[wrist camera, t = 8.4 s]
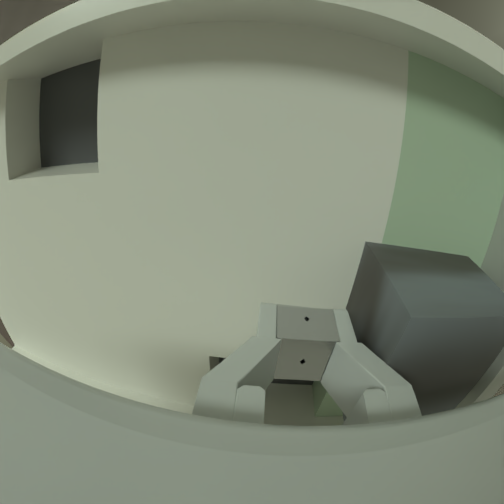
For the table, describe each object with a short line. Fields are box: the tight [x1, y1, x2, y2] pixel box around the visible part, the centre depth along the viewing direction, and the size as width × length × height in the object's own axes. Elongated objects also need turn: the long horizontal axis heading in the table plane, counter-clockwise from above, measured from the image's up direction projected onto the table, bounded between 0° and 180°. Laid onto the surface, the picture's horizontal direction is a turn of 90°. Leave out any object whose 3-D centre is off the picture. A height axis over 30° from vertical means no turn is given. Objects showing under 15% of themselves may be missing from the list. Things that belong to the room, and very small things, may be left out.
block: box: [342, 241, 504, 421], centre depth 8 cm, size 5×5×4 cm
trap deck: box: [0, 0, 504, 426], centre depth 10 cm, size 20×30×7 cm, turn 86°
